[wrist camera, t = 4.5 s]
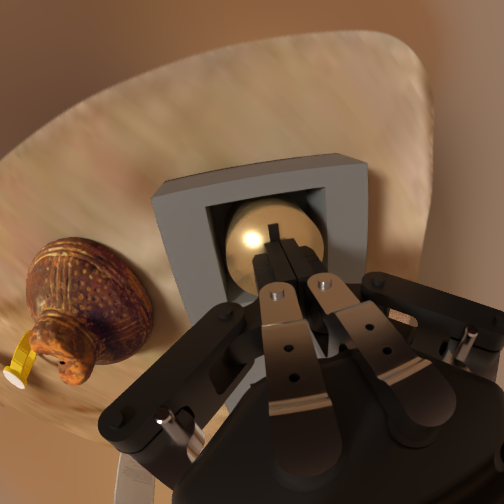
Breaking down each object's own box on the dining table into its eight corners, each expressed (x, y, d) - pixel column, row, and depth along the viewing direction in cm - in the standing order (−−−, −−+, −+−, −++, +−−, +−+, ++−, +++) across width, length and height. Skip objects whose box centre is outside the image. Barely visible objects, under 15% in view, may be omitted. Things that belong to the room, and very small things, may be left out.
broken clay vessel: (164, 353, 23) (155, 421, 16) (57, 343, 21) (31, 396, 15) (143, 232, 17) (107, 294, 11) (18, 237, 16) (-34, 283, 9)
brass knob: (304, 254, 18) (325, 288, 15) (232, 268, 18) (236, 307, 15) (299, 183, 16) (322, 202, 12) (217, 196, 16) (217, 220, 12)
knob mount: (333, 372, 26) (345, 401, 23) (232, 393, 26) (235, 425, 22) (337, 153, 16) (367, 162, 13) (165, 181, 16) (150, 198, 12)
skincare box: (153, 460, 35) (151, 529, 22) (121, 452, 34) (114, 521, 20) (158, 446, 32) (155, 528, 19) (120, 437, 30) (111, 519, 17)
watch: (43, 357, 22) (25, 397, 17) (24, 344, 21) (5, 383, 16) (47, 332, 20) (24, 378, 15) (26, 317, 19) (0, 360, 14)
